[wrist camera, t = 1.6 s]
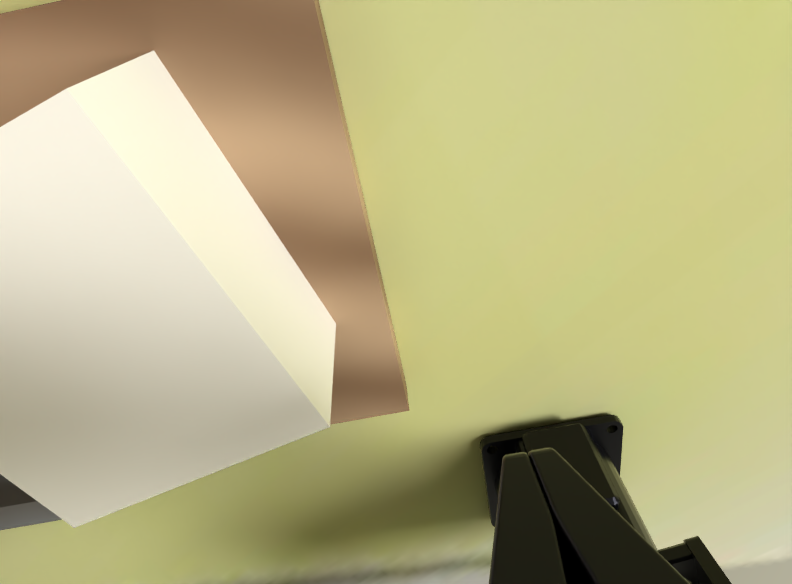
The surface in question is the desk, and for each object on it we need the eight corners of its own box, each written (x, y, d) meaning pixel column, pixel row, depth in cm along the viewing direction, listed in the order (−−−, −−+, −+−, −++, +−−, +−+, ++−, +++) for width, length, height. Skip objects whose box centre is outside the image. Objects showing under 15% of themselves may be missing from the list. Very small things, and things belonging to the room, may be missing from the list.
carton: (336, 324, 19) (330, 428, 15) (132, 412, 21) (74, 528, 16) (152, 48, 14) (64, 85, 10) (-99, 193, 16) (-267, 279, 11)
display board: (406, 385, 23) (418, 492, 18) (-78, 472, 24) (-182, 595, 19) (306, -51, 14) (282, -57, 10) (-438, 111, 15) (-781, 175, 11)
